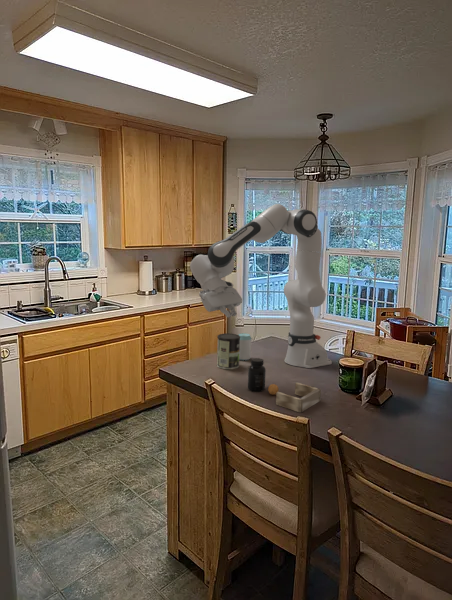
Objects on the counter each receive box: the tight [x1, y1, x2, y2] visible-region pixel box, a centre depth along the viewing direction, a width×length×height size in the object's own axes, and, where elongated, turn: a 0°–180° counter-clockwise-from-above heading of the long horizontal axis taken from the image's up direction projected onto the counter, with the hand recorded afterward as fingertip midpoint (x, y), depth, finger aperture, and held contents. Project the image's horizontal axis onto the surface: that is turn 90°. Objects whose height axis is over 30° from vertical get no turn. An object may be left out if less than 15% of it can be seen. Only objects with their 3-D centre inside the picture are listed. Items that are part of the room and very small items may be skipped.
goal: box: [275, 382, 322, 413], centre depth 157 cm, size 10×14×4 cm
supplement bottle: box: [247, 357, 267, 393], centre depth 169 cm, size 7×7×12 cm
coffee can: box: [216, 332, 240, 370], centre depth 195 cm, size 10×10×14 cm
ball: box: [267, 383, 280, 396], centre depth 164 cm, size 4×4×4 cm
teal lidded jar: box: [237, 332, 252, 361], centre depth 207 cm, size 7×7×12 cm
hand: (232, 315), depth 173 cm, fingers closed
